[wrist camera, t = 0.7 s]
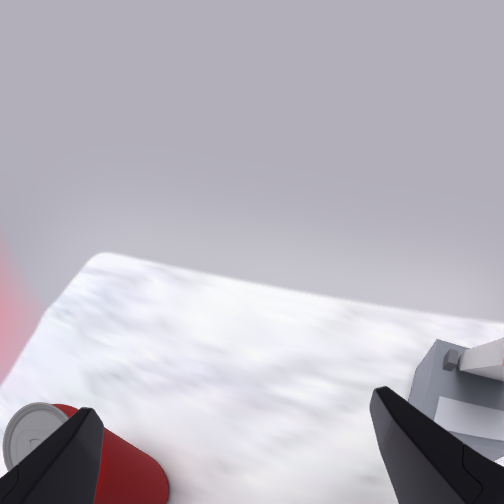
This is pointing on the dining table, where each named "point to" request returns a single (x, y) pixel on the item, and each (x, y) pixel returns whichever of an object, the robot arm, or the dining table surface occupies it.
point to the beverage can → (112, 456)
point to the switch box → (460, 400)
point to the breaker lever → (484, 360)
